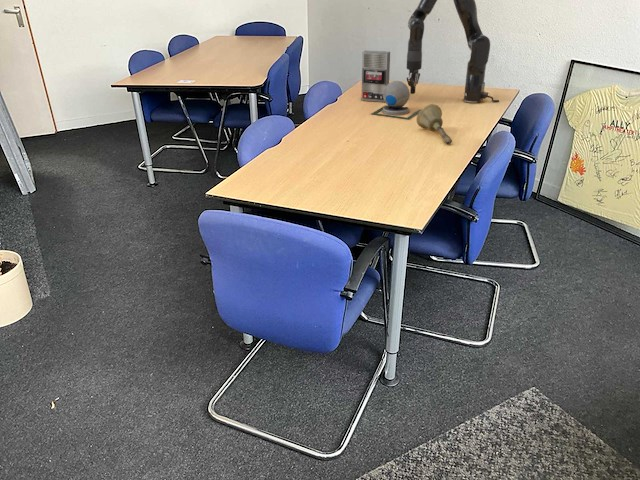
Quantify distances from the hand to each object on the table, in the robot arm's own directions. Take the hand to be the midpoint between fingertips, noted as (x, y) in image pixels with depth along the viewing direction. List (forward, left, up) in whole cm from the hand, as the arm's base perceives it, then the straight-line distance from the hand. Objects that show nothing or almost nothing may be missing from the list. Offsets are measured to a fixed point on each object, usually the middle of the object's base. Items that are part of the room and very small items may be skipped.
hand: (412, 93), depth 279 cm
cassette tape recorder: (+20, +3, -5) cm, 21 cm away
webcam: (+2, +18, -5) cm, 19 cm away
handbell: (-32, +44, -5) cm, 55 cm away
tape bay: (0, +18, -5) cm, 19 cm away
